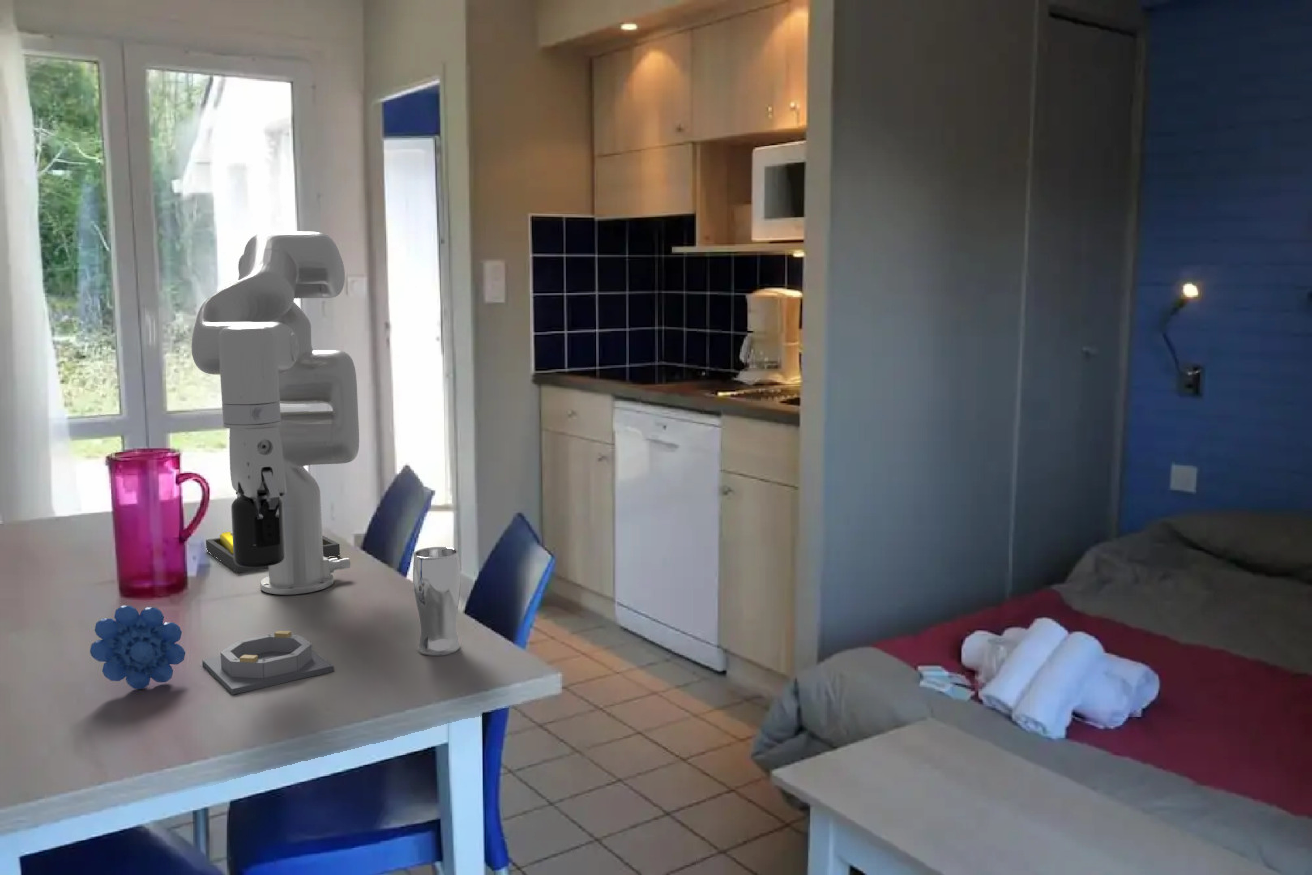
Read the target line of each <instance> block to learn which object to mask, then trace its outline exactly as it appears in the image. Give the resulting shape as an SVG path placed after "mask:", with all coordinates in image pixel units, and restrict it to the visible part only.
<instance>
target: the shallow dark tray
mask: <svg viewBox="0 0 1312 875" xmlns="http://www.w3.org/2000/svg"><path fill="white" fill-rule="evenodd" d="M322 539H323V556H324V557H325V558H326V557H329V556H338V555H340V556H341V549H340V543H339V542H336V541H335V540H333V539H330V538H328V537H327V536H325V535H323V534H322ZM205 545H206V546H205V547H206V548H207V550H208V552H210V553H211V554H212V555H213V556H215V557H217V558H218V559H219V560H221V561H222V562H223V563H224V564H223V563H222V562H221V561H220V562H221V563H222V564H223V565H225V566H226V565H227V566H226V567H228V568H229V567H230V568H229V569H230V570H232V569H233V570H232V571H233V572H235V573H236V574H241V573H242V574H243V573H247V572H254V571H259V569H260V570H265V569H269V568H268V566H265V567H242V566H238V565H237V564H235V562H234V556H233V554H232V553H230V552H229V551H228V550H227V549H225V548H224V547H222V546H221V545H220V537H217V538H208V539H205ZM206 548H205V549H206ZM207 550H206V551H207ZM208 552H207V553H208ZM212 555H211V556H212ZM213 556H212V557H213ZM215 557H214V558H215ZM338 557H339V556H338ZM218 559H217V560H218ZM219 560H218V561H219ZM253 570H254V571H253Z"/></svg>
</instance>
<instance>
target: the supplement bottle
mask: <svg viewBox="0 0 1312 875" xmlns="http://www.w3.org/2000/svg"><path fill="white" fill-rule="evenodd" d="M238 493H240V497H238V498H237V497H236V498H235V499H234V500H233V501H232V503H231V505H230V506H231V507H230V509H231V531H232V536H233V556H234V562H235V564H237V565H238V566H242V567H265V566H271V565H275V564H278V563H280V562H282V561H283V559H284V557H285V552H284V524H283V504H282V501H281V499H280V498H279V501H278V504H279V507H278V510H279V530H280V544H279V545H274V546H268V547H261V548H258V547H257V546H256V543H255V526H254V519H257V516H256V511H255V506H254V501H253V499H251V498H249V497H247V496H245V495H243V494H244V492H243V490H242V489H241V485H240V484H239V482H238ZM257 494H259V495H258V496H262V495H267V494H266V492H264V493H257ZM264 502H266V501H263V502H260V503H261V508H262V506H263V503H264Z"/></svg>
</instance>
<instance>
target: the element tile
mask: <svg viewBox="0 0 1312 875" xmlns="http://www.w3.org/2000/svg"><path fill="white" fill-rule="evenodd" d="M219 538H220V545H221V546H222V547H224V548H225V549H227V550H228V551H229V552H230V553H232V554H233V536H232V530H231V531H226V532H225V531H224V532H222V533H221V534H220V535H219Z"/></svg>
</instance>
